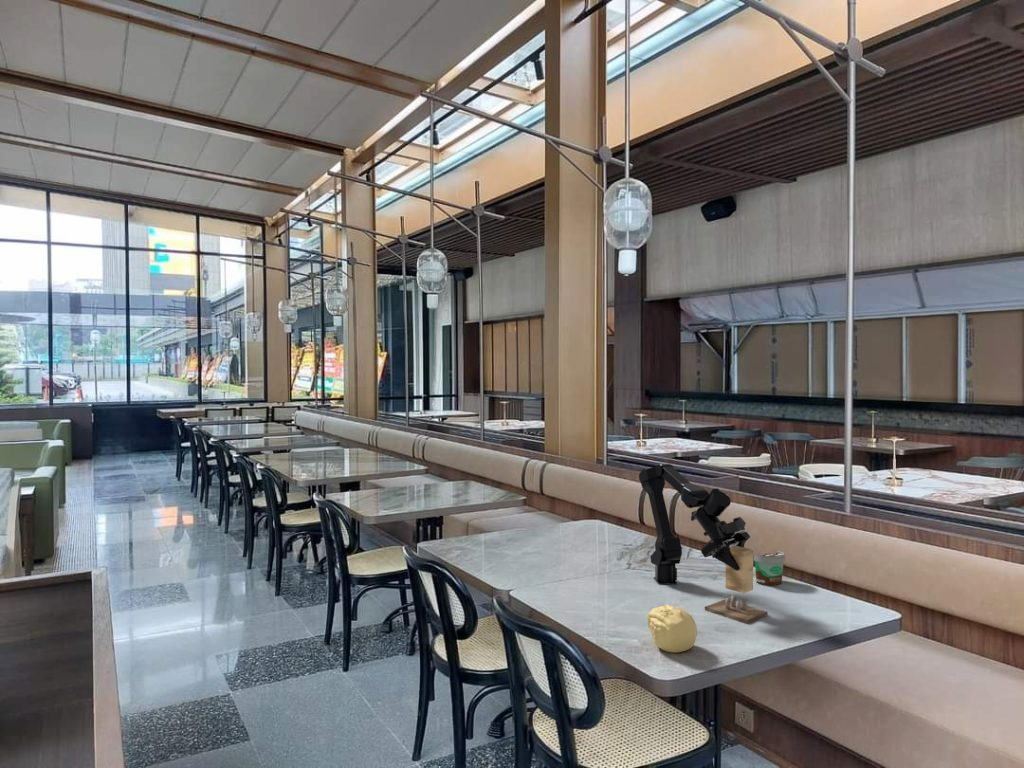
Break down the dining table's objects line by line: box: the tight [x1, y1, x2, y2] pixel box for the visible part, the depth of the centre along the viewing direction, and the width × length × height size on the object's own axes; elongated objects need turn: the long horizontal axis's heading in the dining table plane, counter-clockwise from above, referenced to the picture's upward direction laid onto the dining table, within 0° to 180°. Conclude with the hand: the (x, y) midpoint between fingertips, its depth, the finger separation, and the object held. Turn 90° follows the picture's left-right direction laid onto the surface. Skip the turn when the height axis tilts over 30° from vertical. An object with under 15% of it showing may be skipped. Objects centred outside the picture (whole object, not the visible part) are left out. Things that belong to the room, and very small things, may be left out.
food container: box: [753, 550, 786, 587], centre depth 224 cm, size 12×6×10 cm, turn 117°
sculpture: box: [646, 604, 698, 654], centre depth 172 cm, size 12×12×11 cm
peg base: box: [704, 595, 769, 625], centre depth 197 cm, size 14×11×4 cm
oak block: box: [725, 546, 754, 594], centre depth 197 cm, size 6×5×12 cm
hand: (743, 568), depth 196 cm, fingers closed on oak block, 5 cm apart
